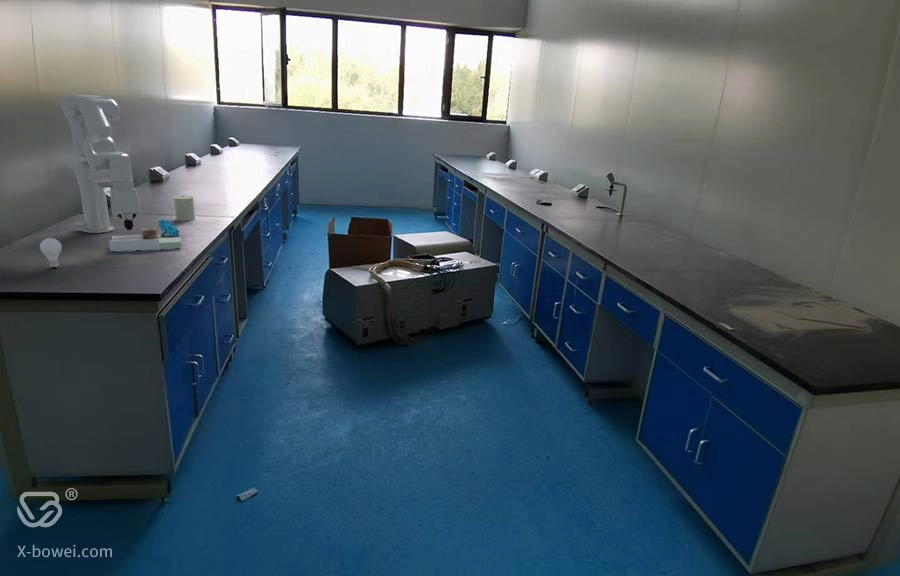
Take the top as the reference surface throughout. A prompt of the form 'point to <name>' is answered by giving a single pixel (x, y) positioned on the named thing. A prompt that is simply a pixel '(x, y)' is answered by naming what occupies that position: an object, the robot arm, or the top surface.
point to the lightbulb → (51, 250)
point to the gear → (168, 228)
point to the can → (184, 208)
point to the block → (149, 233)
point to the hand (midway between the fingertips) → (129, 229)
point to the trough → (143, 243)
